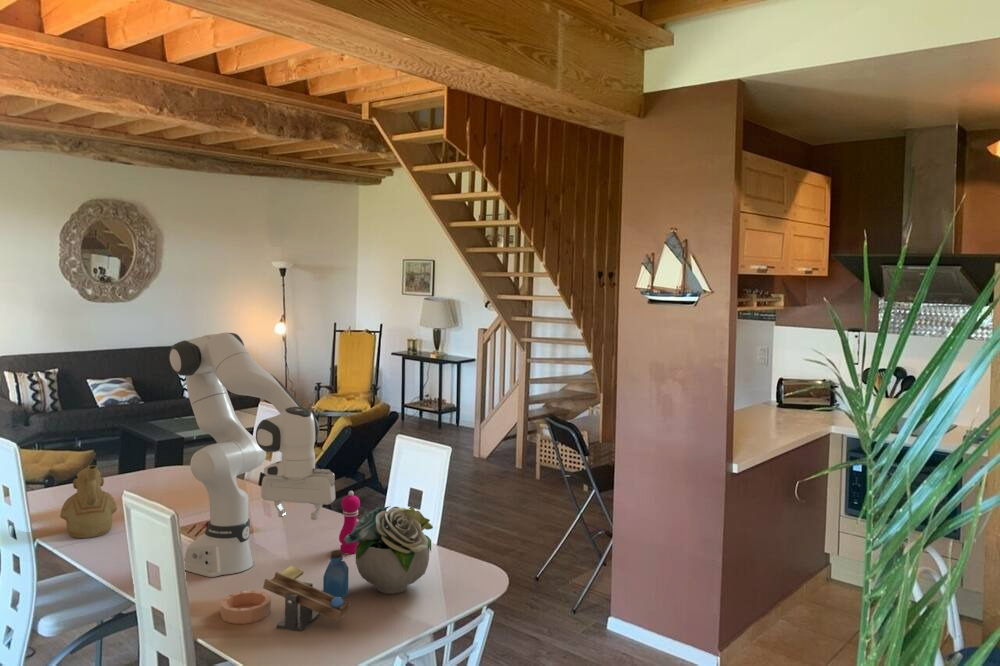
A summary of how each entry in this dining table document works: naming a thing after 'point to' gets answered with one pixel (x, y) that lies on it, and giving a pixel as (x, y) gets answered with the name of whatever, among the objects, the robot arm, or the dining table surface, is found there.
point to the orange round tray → (245, 607)
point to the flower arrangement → (391, 547)
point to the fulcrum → (296, 614)
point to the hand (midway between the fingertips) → (298, 517)
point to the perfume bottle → (336, 576)
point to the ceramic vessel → (88, 506)
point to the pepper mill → (349, 522)
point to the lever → (304, 593)
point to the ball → (337, 602)
